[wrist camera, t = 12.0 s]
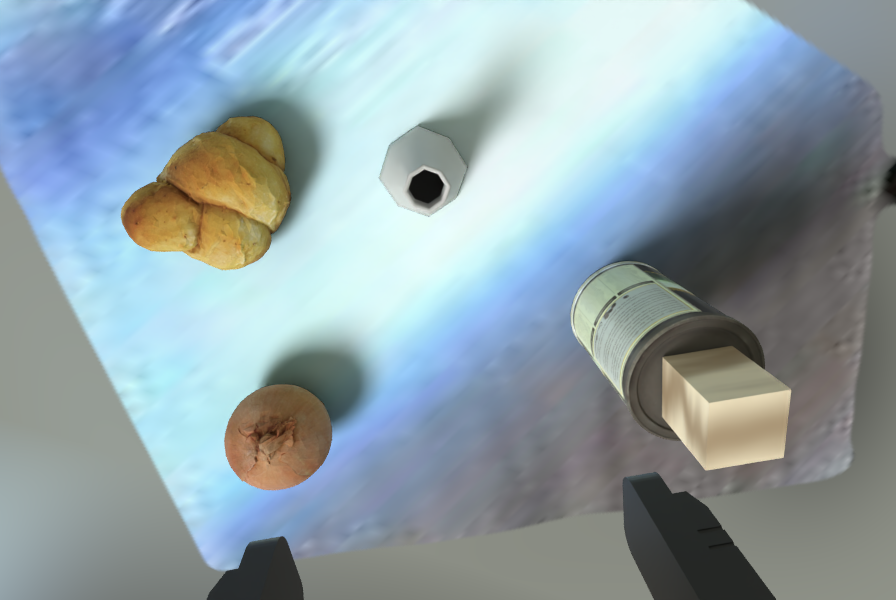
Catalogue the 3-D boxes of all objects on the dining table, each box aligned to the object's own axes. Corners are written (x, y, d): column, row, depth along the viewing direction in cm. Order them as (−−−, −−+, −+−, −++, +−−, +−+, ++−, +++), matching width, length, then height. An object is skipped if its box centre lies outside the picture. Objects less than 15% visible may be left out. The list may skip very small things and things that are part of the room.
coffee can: (681, 260, 49) (782, 316, 36) (662, 356, 52) (747, 440, 39) (575, 258, 48) (638, 315, 35) (563, 357, 52) (616, 442, 38)
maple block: (662, 356, 36) (709, 403, 30) (731, 345, 36) (791, 389, 31) (661, 416, 38) (705, 470, 32) (728, 405, 38) (783, 457, 32)
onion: (287, 362, 53) (264, 364, 43) (356, 422, 53) (348, 437, 43) (221, 434, 51) (181, 453, 41) (292, 496, 51) (269, 529, 42)
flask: (415, 109, 42) (416, 109, 33) (481, 164, 44) (501, 180, 35) (364, 179, 44) (352, 198, 35) (430, 230, 46) (436, 261, 37)
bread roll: (237, 88, 41) (198, 84, 33) (333, 172, 44) (318, 185, 36) (148, 207, 44) (94, 228, 36) (244, 279, 46) (213, 312, 39)
